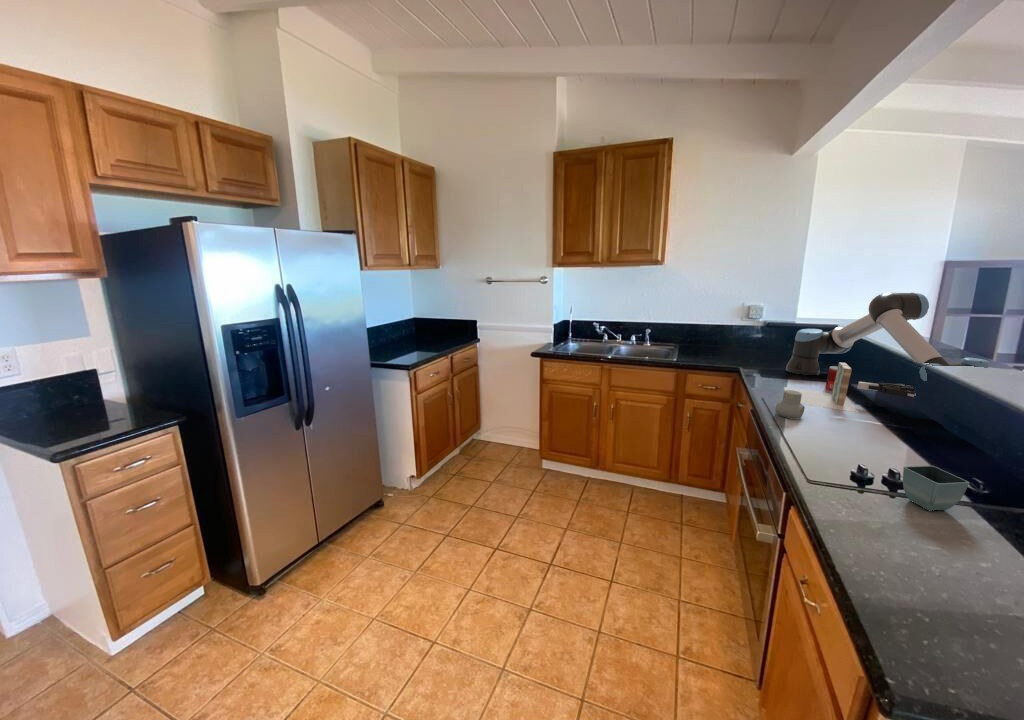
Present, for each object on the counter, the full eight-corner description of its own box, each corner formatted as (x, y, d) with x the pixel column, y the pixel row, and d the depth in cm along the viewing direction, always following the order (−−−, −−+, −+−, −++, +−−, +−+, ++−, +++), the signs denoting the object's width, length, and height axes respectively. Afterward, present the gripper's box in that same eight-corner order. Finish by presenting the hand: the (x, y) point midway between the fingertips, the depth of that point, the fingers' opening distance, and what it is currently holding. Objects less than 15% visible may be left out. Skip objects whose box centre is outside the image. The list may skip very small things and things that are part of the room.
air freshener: (780, 410, 175) (784, 386, 172) (804, 415, 169) (808, 391, 167) (772, 416, 167) (776, 392, 165) (797, 423, 162) (801, 398, 159)
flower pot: (894, 496, 113) (902, 465, 111) (924, 495, 114) (933, 465, 112) (928, 516, 105) (938, 483, 102) (960, 515, 105) (971, 482, 103)
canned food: (849, 393, 197) (854, 370, 194) (829, 392, 198) (834, 369, 196) (840, 388, 204) (845, 366, 201) (821, 387, 206) (826, 365, 203)
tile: (831, 396, 190) (838, 362, 186) (838, 397, 189) (845, 362, 185) (836, 404, 180) (844, 368, 176) (843, 405, 179) (851, 369, 175)
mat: (783, 388, 204) (783, 386, 203) (845, 396, 193) (845, 395, 193) (788, 403, 183) (788, 401, 183) (857, 413, 172) (858, 412, 172)
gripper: (936, 408, 165) (860, 397, 175) (923, 398, 176) (852, 389, 186) (941, 389, 163) (864, 380, 173) (928, 380, 174) (856, 372, 185)
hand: (858, 385), depth 180 cm, fingers closed
